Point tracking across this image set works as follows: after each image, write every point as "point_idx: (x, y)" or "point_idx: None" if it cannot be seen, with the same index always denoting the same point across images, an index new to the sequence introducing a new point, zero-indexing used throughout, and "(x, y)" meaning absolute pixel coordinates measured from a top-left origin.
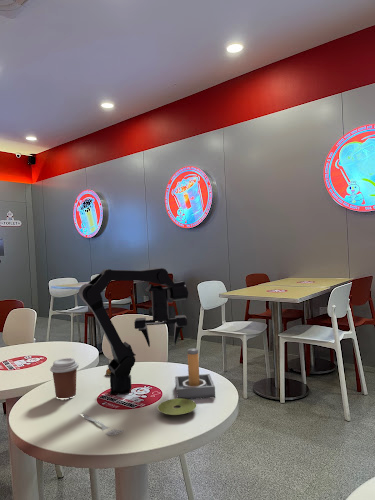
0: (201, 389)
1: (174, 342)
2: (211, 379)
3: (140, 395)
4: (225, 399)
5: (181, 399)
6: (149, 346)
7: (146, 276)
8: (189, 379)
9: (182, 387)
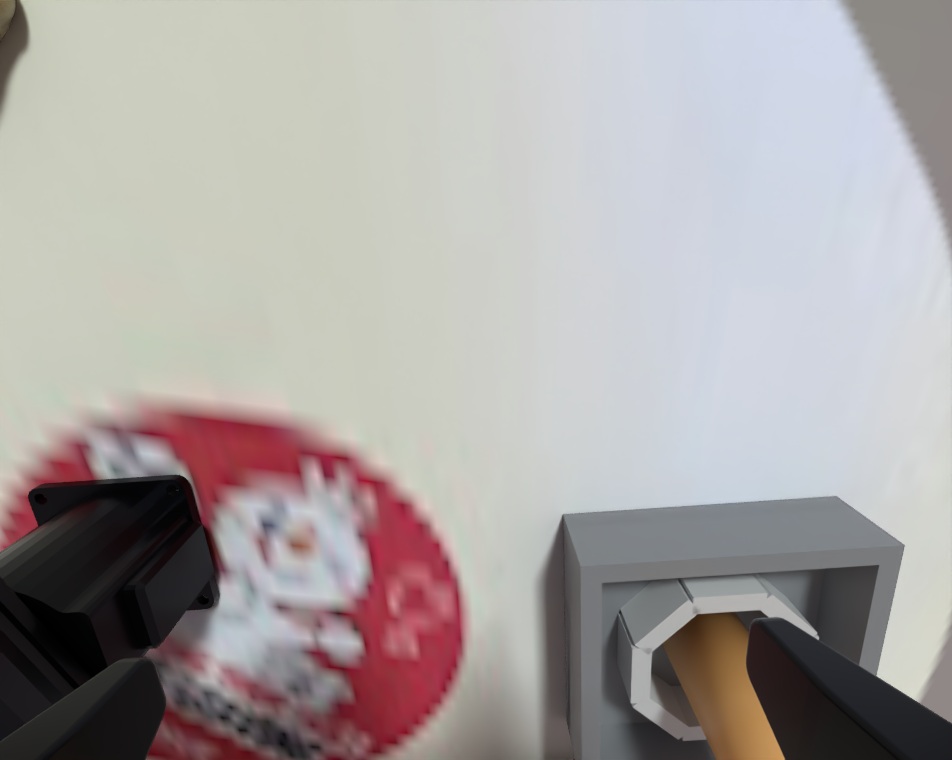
0: None
1: (788, 754)
2: (875, 663)
3: (312, 629)
4: None
5: None
6: (157, 715)
7: None
8: (699, 723)
9: (616, 604)
